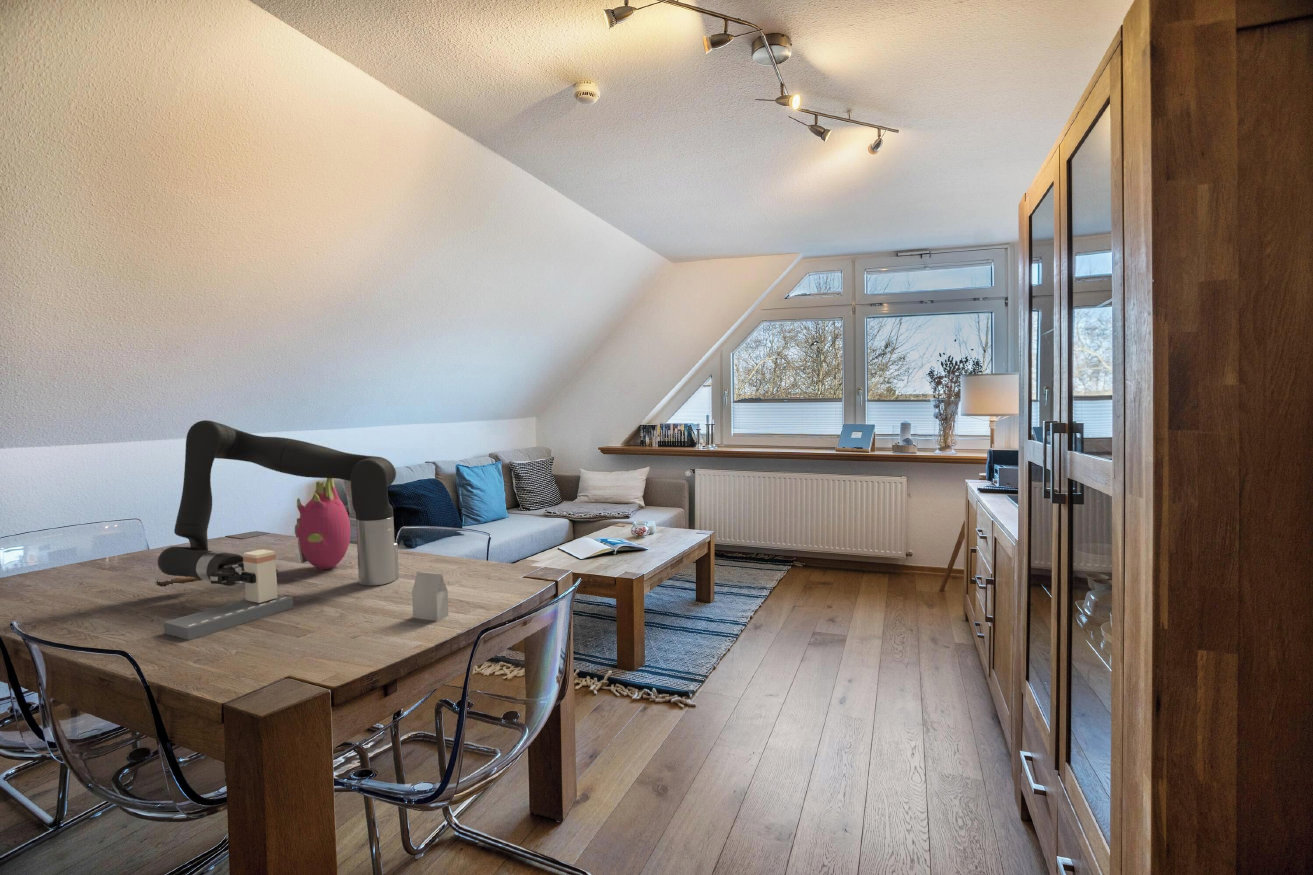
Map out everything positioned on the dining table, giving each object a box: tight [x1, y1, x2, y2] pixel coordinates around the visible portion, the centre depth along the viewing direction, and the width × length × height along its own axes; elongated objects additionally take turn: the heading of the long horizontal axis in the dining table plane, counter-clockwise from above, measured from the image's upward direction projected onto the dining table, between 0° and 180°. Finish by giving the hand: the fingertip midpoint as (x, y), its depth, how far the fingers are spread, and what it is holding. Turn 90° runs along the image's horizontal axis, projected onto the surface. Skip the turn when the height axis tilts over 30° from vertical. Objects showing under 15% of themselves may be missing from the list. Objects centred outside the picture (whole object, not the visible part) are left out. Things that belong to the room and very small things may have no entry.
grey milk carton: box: [411, 571, 449, 622], centre depth 152 cm, size 4×7×10 cm, turn 68°
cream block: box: [242, 548, 279, 603], centre depth 158 cm, size 4×5×11 cm
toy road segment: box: [163, 594, 294, 641], centre depth 152 cm, size 23×9×3 cm, turn 152°
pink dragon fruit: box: [294, 478, 352, 570], centre depth 195 cm, size 18×14×30 cm
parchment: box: [156, 577, 203, 587], centre depth 192 cm, size 25×10×1 cm, turn 145°
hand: (265, 575), depth 157 cm, fingers closed on cream block, 4 cm apart
